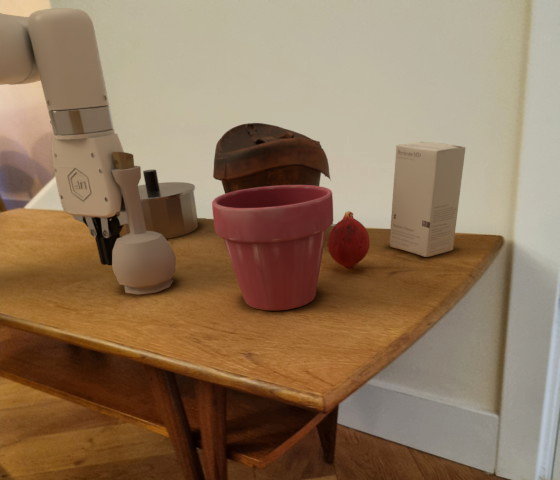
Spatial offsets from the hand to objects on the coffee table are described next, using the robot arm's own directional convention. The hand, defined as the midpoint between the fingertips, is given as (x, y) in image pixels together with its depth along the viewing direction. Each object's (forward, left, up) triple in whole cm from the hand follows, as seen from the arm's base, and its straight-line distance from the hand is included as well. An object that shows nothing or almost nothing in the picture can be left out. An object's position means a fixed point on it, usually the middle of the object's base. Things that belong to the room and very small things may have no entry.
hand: (113, 262), depth 80 cm
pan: (-14, +26, -3) cm, 29 cm away
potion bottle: (+6, 0, -3) cm, 7 cm away
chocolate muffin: (+12, +26, -3) cm, 29 cm away
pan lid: (-14, +26, +4) cm, 29 cm away
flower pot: (+26, +2, -3) cm, 27 cm away
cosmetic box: (+37, +27, -3) cm, 46 cm away
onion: (+30, +15, -3) cm, 34 cm away
